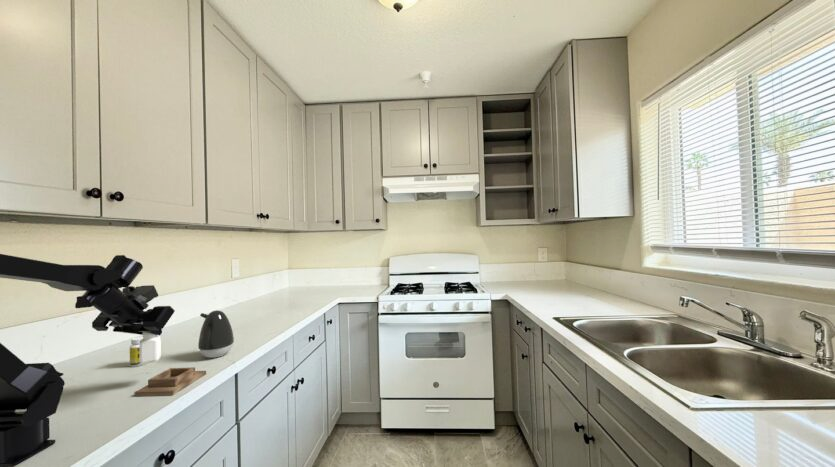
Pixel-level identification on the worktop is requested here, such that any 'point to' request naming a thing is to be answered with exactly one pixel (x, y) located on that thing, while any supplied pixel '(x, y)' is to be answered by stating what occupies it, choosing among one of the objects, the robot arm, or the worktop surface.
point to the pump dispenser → (215, 335)
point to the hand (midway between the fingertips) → (154, 333)
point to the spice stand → (170, 382)
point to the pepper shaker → (150, 348)
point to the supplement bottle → (135, 352)
